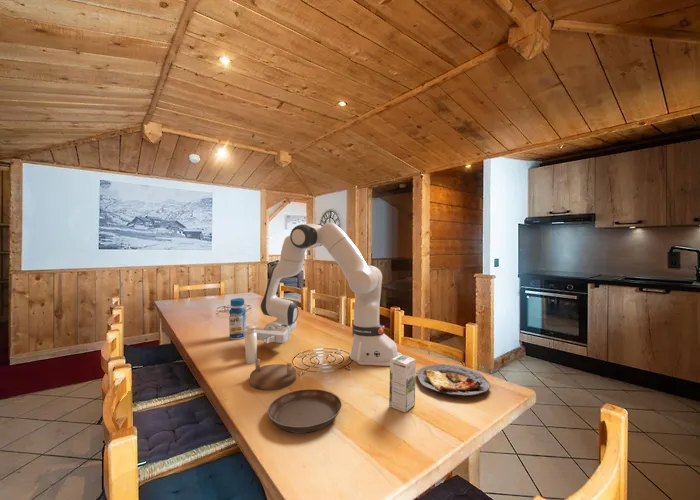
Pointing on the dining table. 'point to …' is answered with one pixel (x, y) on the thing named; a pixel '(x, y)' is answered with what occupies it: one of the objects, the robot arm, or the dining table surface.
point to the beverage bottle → (237, 319)
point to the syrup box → (402, 383)
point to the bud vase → (250, 345)
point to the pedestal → (272, 376)
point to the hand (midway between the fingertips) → (256, 340)
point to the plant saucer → (304, 410)
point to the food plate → (452, 380)
